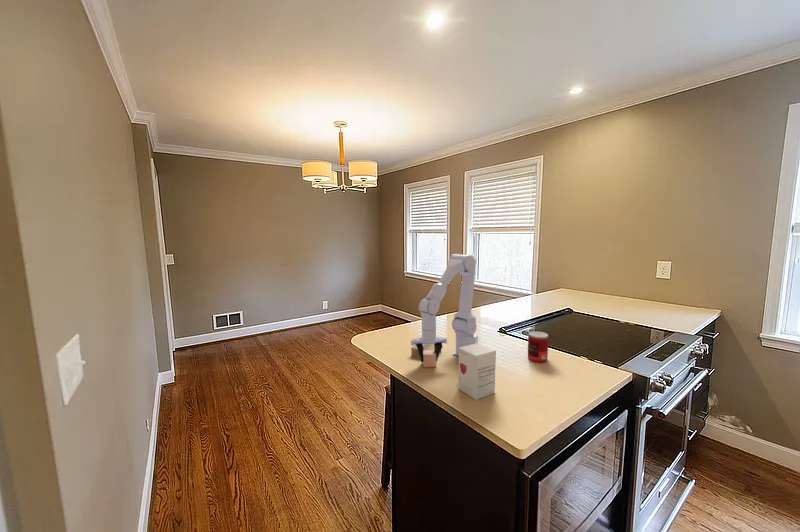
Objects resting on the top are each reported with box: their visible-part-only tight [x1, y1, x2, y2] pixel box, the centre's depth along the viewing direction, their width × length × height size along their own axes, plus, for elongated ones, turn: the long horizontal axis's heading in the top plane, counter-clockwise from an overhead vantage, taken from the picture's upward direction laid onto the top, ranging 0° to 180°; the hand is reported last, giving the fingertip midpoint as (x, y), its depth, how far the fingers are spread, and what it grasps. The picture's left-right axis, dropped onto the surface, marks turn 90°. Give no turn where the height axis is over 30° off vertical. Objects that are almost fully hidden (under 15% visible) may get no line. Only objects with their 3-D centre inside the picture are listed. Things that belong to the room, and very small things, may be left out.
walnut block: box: [410, 344, 442, 358], centre depth 144 cm, size 10×10×4 cm
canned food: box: [527, 330, 549, 364], centre depth 136 cm, size 8×8×11 cm
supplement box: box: [457, 342, 497, 401], centre depth 110 cm, size 9×9×15 cm
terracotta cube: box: [421, 350, 437, 368], centre depth 132 cm, size 5×5×5 cm
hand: (429, 361), depth 132 cm, fingers closed on terracotta cube, 5 cm apart
